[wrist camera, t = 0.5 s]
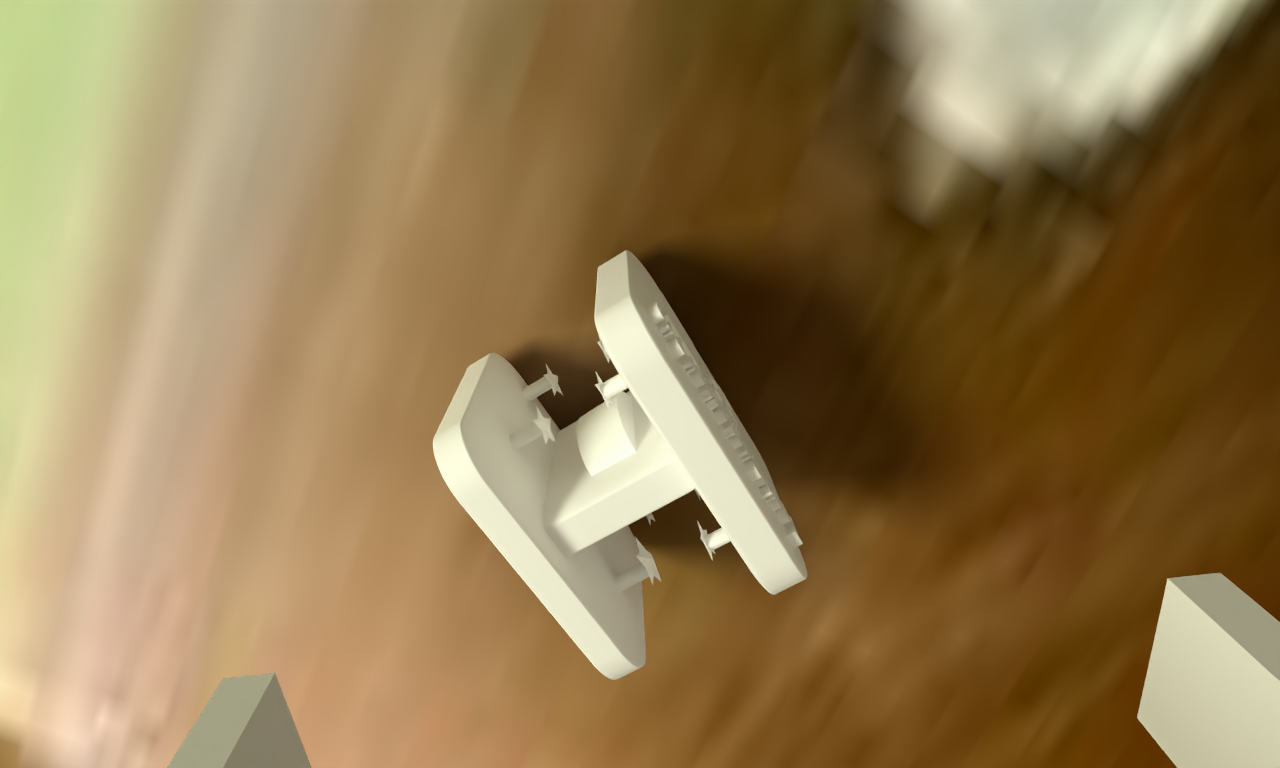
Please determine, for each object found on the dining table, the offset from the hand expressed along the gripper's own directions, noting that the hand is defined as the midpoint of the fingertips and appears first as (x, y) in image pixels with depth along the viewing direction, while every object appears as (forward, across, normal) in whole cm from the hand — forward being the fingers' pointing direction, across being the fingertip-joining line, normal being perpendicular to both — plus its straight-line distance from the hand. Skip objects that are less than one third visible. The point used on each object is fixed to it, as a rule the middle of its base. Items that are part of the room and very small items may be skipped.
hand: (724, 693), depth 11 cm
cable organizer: (+28, -2, -8) cm, 29 cm away
